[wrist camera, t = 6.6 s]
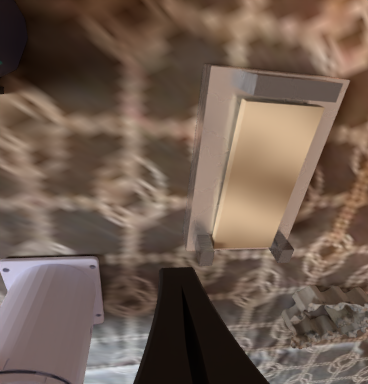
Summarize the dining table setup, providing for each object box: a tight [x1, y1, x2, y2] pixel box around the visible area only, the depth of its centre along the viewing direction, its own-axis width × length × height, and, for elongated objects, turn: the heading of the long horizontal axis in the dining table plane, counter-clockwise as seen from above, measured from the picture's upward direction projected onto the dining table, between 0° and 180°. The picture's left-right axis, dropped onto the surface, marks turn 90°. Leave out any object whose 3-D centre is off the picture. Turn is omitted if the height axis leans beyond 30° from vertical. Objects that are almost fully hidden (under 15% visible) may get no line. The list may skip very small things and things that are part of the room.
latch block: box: [183, 64, 350, 266], centre depth 18 cm, size 14×9×4 cm, turn 175°
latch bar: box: [211, 98, 325, 249], centre depth 18 cm, size 12×5×1 cm, turn 175°
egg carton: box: [281, 285, 368, 349], centre depth 30 cm, size 11×8×4 cm
